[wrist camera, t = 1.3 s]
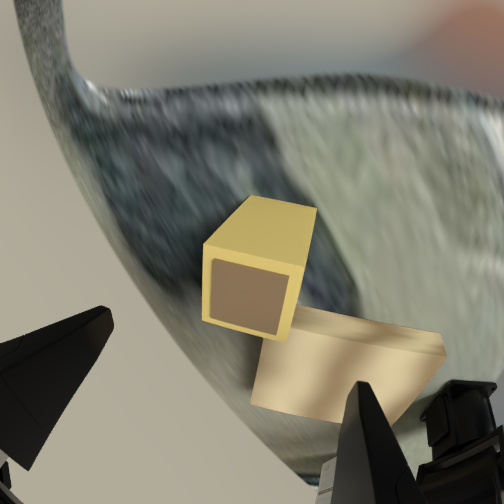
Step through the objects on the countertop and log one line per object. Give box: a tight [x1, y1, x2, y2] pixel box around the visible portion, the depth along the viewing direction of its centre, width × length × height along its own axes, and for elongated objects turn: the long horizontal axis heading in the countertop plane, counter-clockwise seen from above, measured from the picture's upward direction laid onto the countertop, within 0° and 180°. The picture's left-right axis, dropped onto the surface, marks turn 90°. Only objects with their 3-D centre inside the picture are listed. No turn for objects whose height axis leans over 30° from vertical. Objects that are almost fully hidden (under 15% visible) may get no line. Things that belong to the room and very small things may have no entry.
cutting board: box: [250, 304, 447, 426], centre depth 20 cm, size 13×10×2 cm
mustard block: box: [202, 195, 317, 343], centre depth 15 cm, size 4×4×7 cm
